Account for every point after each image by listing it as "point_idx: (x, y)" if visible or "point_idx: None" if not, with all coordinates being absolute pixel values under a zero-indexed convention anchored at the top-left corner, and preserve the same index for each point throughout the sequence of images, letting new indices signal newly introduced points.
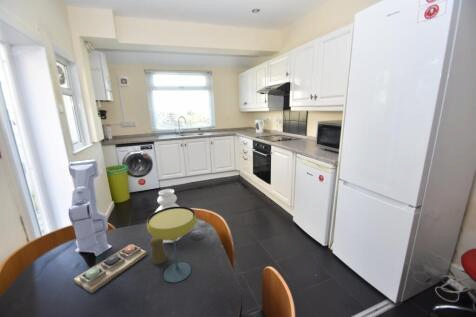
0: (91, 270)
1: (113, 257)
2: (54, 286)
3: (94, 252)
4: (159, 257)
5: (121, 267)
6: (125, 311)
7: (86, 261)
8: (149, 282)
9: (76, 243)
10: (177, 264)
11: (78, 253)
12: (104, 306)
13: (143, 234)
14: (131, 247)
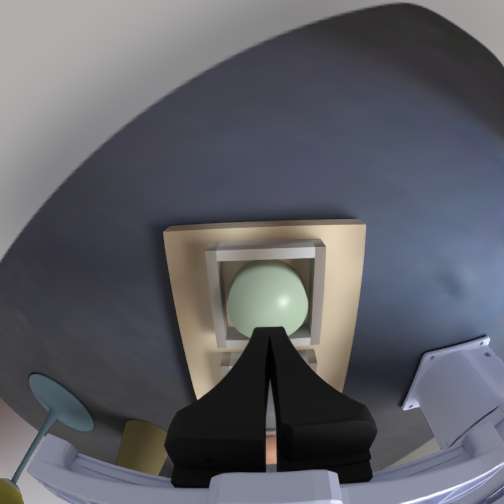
0: (289, 312)
1: (266, 414)
2: (417, 149)
3: (47, 467)
4: (121, 442)
5: (202, 384)
6: (9, 252)
7: (264, 360)
8: (64, 360)
9: (486, 449)
10: (45, 422)
11: (358, 410)
12: (58, 222)
13: None
14: (270, 458)
